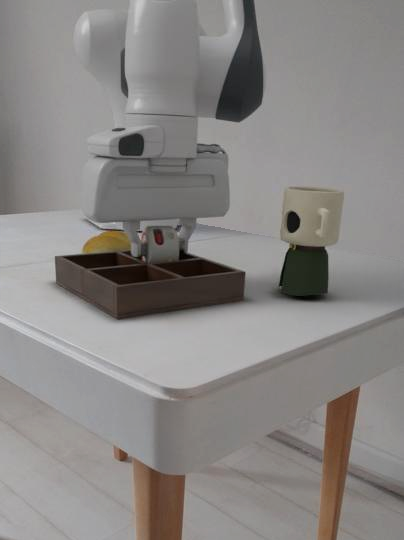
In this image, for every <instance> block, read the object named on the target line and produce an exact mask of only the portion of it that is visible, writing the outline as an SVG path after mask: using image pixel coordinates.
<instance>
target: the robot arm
mask: <svg viewBox="0 0 404 540" xmlns="http://www.w3.org/2000/svg"><path fill="white" fill-rule="evenodd" d="M221 1H222V9H223V10H222V11H223V19H224V27H225V34H223V35H220V36H208V35H207V32H206V31H205V29H204V27H203V25H202V24H201V23H200V22H199V12H198V4H197V0H129V5H128V10H126V9H118V8H109V7H108V8H100V9H92V10H85V11H84V12H82V13H81V15H80V16H79V17H78V20H77V21H76V24H75V26H74V29H73V34H72V35H73V37H72V38H73V39H72V40H73V43H72V44H73V47H74V52H75V55H76V58H77V60H78V61H79V63H80V64H81V66H82V67H83V68H84V69H85V70H86V71H87V72H88V73H89V74H90V75H91V76H92V77H94V79H95V80H96V81H97V82H98V84H99V85H100V86H101V88H102V90H103V92H104V94H105V95H106V97H107V99H108V103H109V106H110V109H111V114H112V119H113V128H110V129H107V130H104V131H102V132H98V133H95V134H92V135H90V136H88V137H87V139H86V150H87V153H88V154H89V155H92V156H91V157H90V158H88V160H87V161H86V162H85V164H84V167H83V170H82V173H83V174H82V182H81V210H82V213H83V215H84V216H85V219H86V220H87V221H88V222H90V223H92V224H93V225H95V226H97V227H98V228H99V229H102V230H118V231H120V230H121V231H123V232H124V233H126V235H127V237H128V239H129V240H130V241H131V254H132V256H135V257H142V256H147V243H146V242H143V241H141V237H140V236H139V234H138V232H143V230H144V228H145V227H147V226H172V227H173V228H174V229H175V230H176V229H177V228H178V226H181V228H180V230H179V232H178V233H177V235H178V240H179V253H186V252H187V253H188V251H189V240H190V239H191V237H192V235H193V233H194V232H195V229H197V219H206V218H208V219H209V218H224V217H225V216H226V215H227V214H228V212H229V211H230V206H231V205H230V204H231V195H230V192H231V191H230V177H229V160H230V159H229V155H228V154H227V152H226V151H225V149H224V148H222V147H221V145H220V144H217V143H210V144H206V143H198V132H199V131H198V130H199V118H201V119H202V118H203V119H204V118H205V119H215V120H217V121H224V122H231V123H238V124H239V123H241V122H243V121H244V120H246V119H247V118H249V117H250V116H251V115H252V114H253V113H255V112H256V111H257V110H258V109H259V108H260V107H261V106H262V105H263V100H264V96H265V92H266V87H267V85H266V84H267V72H266V71H267V70H266V66H265V65H266V64H265V60H264V59H265V58H264V56H263V53H262V47H261V40H260V36H259V35H260V34H259V31H258V30H259V29H258V22H257V15H256V5H255V0H221Z"/></svg>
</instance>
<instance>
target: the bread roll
mask: <svg viewBox="0 0 404 540" xmlns="http://www.w3.org/2000/svg"><path fill="white" fill-rule="evenodd" d="M124 250H131V241H130V240H129V239H128V237H127V235H126V233H125V232H124V231H120V230H106V231H103V232H101V233H99V234H98V235H96V236H92V237H90V238H89V239H87V241H86V242H85V243H84V244H83V247H82V251H81V254H87V253H100V252H112V251H124Z"/></svg>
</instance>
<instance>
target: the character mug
mask: <svg viewBox="0 0 404 540" xmlns="http://www.w3.org/2000/svg"><path fill="white" fill-rule="evenodd" d="M344 198H345V191H344V190H342V189H337V188H330V187H320V186H319V187H317V186H286V187H284V190H283V198H282V199H283V200H282V211H281V223H280V230H279V237H280V241H282V242H284V243H286V244H289V247H288V249H287V251H286V252H285V255H284V259H283V263H282V267H281V272H280V276H279V282H278V287H277V289H278V290H279V289H280V292H281V293H284V294H286V295H289V296H290V295H291V296H296V297H302V296H303V297H304V298H305V299H308V298H309V296H313V295H324V294H328V292H329V279H330V278H329V276H330V274H329V273H330V272H329V253H328V251H327V249H326V247H329V246H335V245H336V244H338V242H339V237H340V231H341V223H342V214H343V206H344Z"/></svg>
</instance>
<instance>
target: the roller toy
mask: <svg viewBox="0 0 404 540" xmlns="http://www.w3.org/2000/svg"><path fill="white" fill-rule="evenodd" d="M140 240H141V241H143V242H146V243H147V256H142V261H145V262H147V263H154V262H164V261H175V260H178V259H179V240H178V232H177V230H176V228H175V229H174V228H173V227H172V226H147V227H145V228H144V230H143V231H141V237H140Z"/></svg>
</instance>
